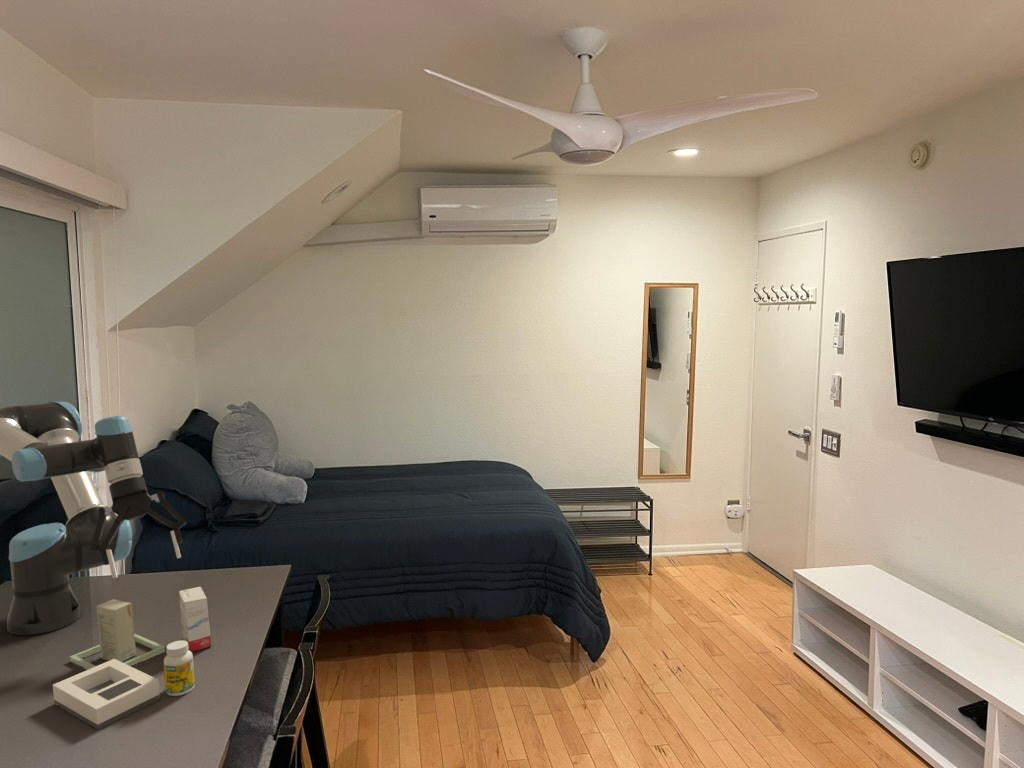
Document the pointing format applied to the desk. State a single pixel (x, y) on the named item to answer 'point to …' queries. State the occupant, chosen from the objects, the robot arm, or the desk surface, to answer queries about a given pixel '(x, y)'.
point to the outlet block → (106, 693)
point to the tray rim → (156, 651)
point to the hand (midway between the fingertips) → (147, 567)
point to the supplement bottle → (178, 669)
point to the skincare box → (116, 630)
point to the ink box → (195, 618)
